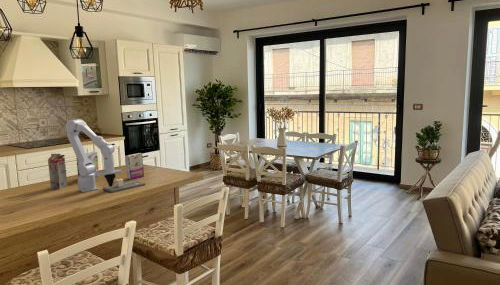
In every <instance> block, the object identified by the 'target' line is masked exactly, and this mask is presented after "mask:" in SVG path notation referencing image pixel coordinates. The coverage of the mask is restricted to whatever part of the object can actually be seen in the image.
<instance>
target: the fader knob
mask: <svg viewBox="0 0 500 285" xmlns="http://www.w3.org/2000/svg"><path fill="white" fill-rule="evenodd" d="M123 183H124V179H122V178H116V179H115V185H116V186H118V187H121V186H124V185H123Z"/></svg>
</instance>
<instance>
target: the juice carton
mask: <svg viewBox="0 0 500 285" xmlns="http://www.w3.org/2000/svg"><path fill="white" fill-rule="evenodd" d="M47 162H48V163H47V164H48V172H49V174H48V175H49V181H50V182H49V183H50V189H51V190H62V189H64V188H66V187H68V180H67V179H68V177H67V170H66V169H67V168H66V159H65V157H63V156H62V155H61V153H50V157H49V158H48V159H47Z"/></svg>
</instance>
